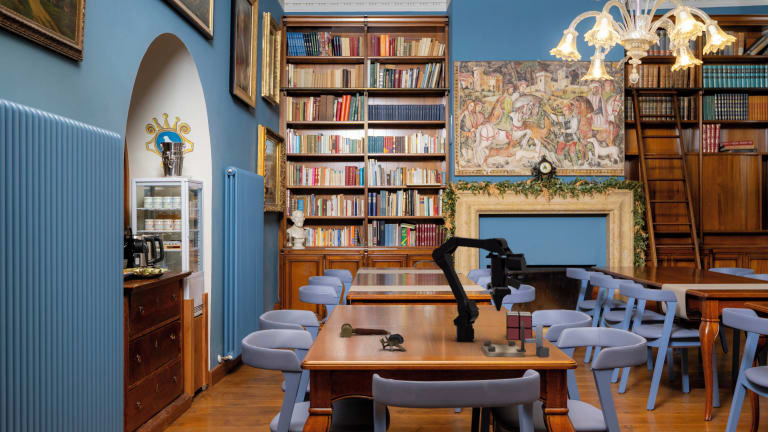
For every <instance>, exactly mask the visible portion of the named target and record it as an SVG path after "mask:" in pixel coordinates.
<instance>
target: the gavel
mask: <svg viewBox="0 0 768 432" xmlns="http://www.w3.org/2000/svg"><path fill="white" fill-rule="evenodd" d="M391 334H392V332H391V331H388V330H385V329H378V328H365V327H364V328H361V327H360V328H359V327H357V328H355V327H353V326H352V325H351V324H350V323H348V322H344V323H343V324H342V325H341V327H340V335H341V337H342V338H345V339H346V338H347V339H348V338H351V336H353V335H362V336H363V335H365V336H385V335H386V336H387V335H391Z"/></svg>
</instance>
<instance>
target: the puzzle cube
mask: <svg viewBox="0 0 768 432" xmlns="http://www.w3.org/2000/svg"><path fill="white" fill-rule="evenodd" d="M505 317H506V321H505V322H506V325H505V327H506V328H505V329H506V330H505V335H506V336H505V337H506V340H508V341H521V321H524V338H525V339H533V314H532V313H531V312H530V311H506V313H505Z"/></svg>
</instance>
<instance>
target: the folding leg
mask: <svg viewBox="0 0 768 432" xmlns="http://www.w3.org/2000/svg"><path fill="white" fill-rule="evenodd" d="M543 341H544V326H543V325H542V324H536V325H535V338H532V339H525V344H535V354H536V355H537V347H544V342H543Z"/></svg>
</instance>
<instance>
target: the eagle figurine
mask: <svg viewBox="0 0 768 432" xmlns="http://www.w3.org/2000/svg"><path fill="white" fill-rule="evenodd" d="M384 338H385V339H384ZM379 342H380V343H381V346H382V350H383V351H384V350H385V348H387V347H389V349H390V352H391V353H392V352H393V351H394V347H395V348H398V349H399V350H401V351H402V352H407V349H406V348H405V347H403V343H405V339H404V337H403V335H401V334H399V333H393V334H392V333H391V334H389V336H388V337H387V335H384V337H383V338H381V339H379Z"/></svg>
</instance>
